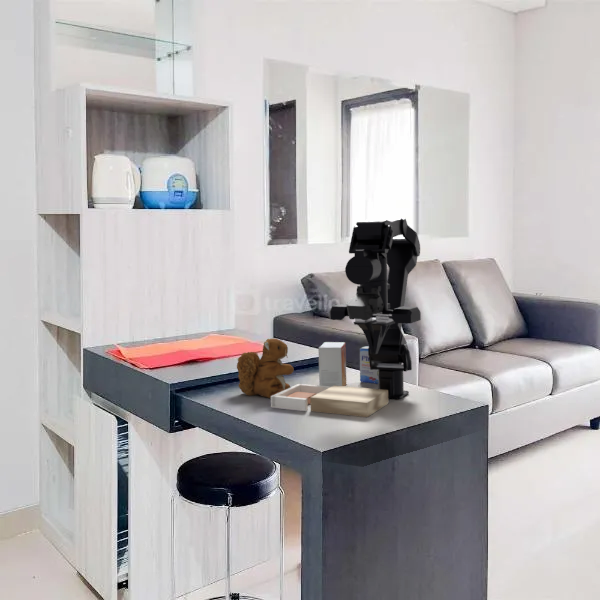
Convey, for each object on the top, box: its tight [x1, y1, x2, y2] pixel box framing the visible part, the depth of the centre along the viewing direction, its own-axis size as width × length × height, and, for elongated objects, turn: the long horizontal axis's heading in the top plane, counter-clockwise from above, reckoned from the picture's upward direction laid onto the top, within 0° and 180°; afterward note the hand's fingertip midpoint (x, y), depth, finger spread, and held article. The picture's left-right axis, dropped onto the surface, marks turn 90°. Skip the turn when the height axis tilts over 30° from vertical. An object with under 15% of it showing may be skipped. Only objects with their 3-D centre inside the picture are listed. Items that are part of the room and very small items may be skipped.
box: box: [270, 383, 330, 412], centre depth 163 cm, size 13×8×2 cm, turn 152°
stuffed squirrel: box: [236, 337, 294, 399], centre depth 171 cm, size 10×14×13 cm
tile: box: [286, 392, 316, 405], centre depth 163 cm, size 5×5×2 cm
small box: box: [317, 341, 347, 387], centre depth 176 cm, size 8×6×10 cm
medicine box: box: [359, 345, 378, 385], centre depth 180 cm, size 8×4×9 cm, turn 56°
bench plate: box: [310, 385, 389, 418], centre depth 157 cm, size 12×13×3 cm
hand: (374, 353), depth 154 cm, fingers closed
